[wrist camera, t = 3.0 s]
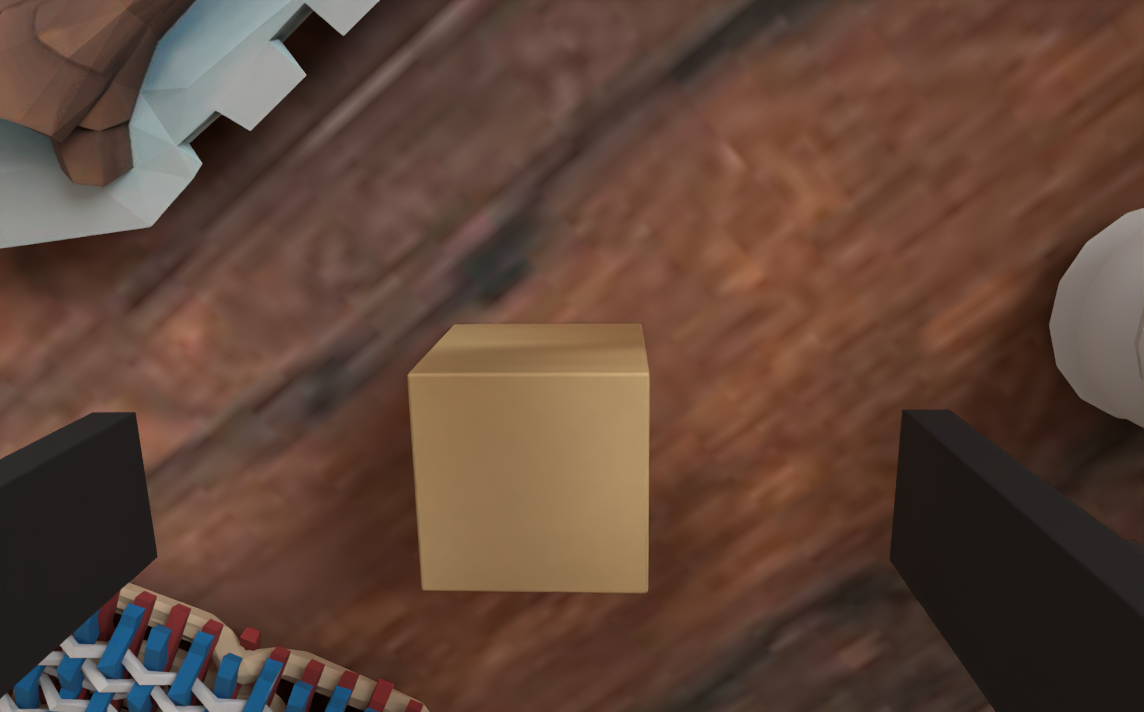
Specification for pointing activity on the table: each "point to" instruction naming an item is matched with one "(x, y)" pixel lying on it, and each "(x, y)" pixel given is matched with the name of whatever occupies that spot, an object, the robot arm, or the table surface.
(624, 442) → the block
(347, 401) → the table surface
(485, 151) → the table surface
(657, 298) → the table surface
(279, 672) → the woven mat
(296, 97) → the table surface
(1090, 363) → the rook chess piece
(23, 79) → the decorative knife
